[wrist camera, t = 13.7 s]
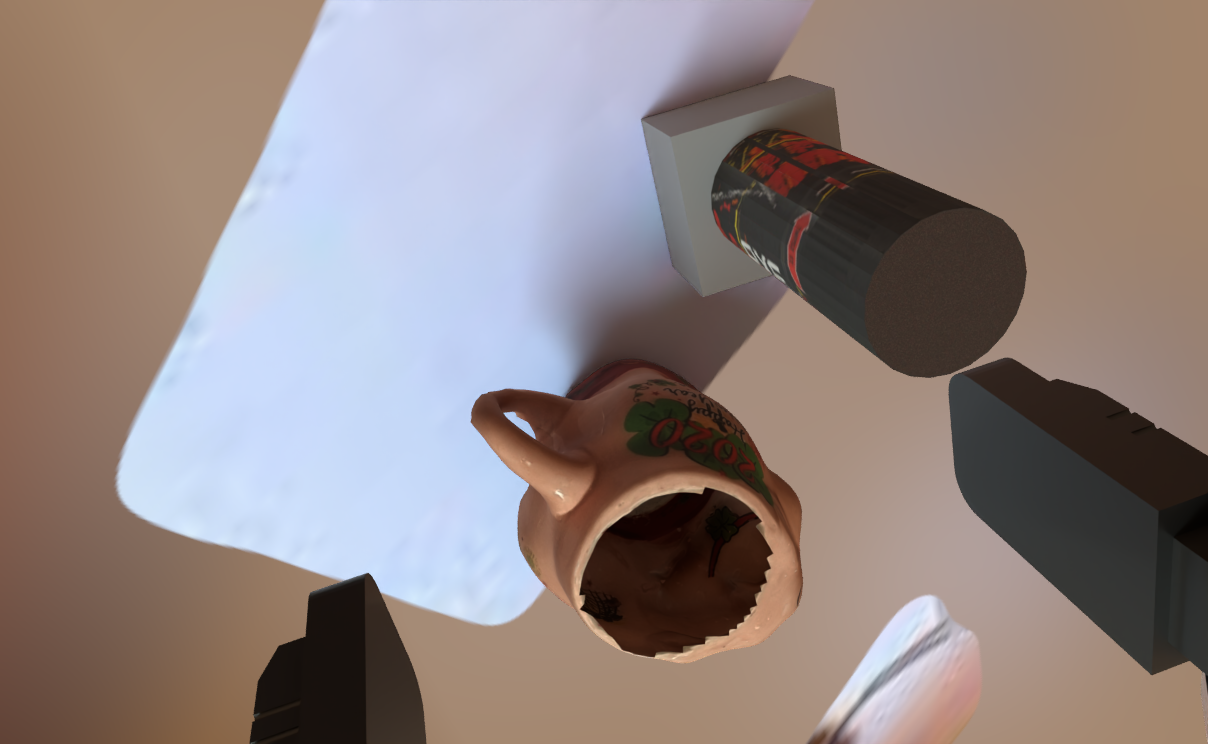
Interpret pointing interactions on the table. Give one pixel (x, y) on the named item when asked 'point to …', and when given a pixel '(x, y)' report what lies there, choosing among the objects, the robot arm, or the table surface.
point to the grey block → (694, 153)
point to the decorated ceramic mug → (650, 512)
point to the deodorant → (873, 250)
